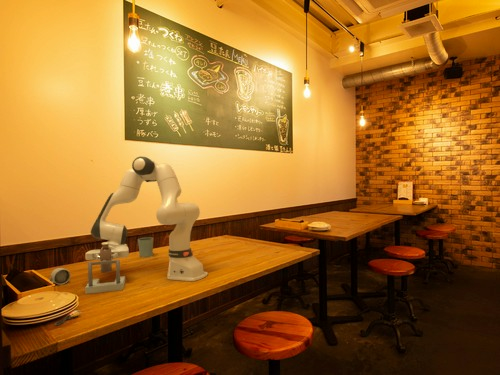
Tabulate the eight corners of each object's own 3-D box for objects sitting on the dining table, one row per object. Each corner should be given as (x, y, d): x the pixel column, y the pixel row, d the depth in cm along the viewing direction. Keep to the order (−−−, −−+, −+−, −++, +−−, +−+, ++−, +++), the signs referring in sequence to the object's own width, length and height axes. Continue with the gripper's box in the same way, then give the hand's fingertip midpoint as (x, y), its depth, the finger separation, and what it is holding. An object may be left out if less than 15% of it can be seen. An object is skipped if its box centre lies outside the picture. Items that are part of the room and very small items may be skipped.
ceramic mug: (65, 279, 166) (65, 265, 166) (71, 282, 161) (70, 267, 161) (42, 284, 159) (41, 269, 158) (47, 288, 153) (46, 273, 153)
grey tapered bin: (148, 258, 208) (148, 240, 208) (135, 257, 210) (134, 239, 210) (156, 254, 218) (155, 237, 218) (143, 254, 220) (142, 237, 220)
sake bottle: (114, 270, 155) (113, 242, 154) (105, 273, 151) (104, 244, 150) (107, 269, 157) (106, 241, 157) (98, 271, 153) (97, 243, 152)
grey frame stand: (90, 285, 156) (89, 257, 155) (125, 281, 160) (124, 254, 160) (85, 293, 144) (84, 263, 144) (122, 289, 149) (121, 260, 148)
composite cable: (57, 327, 112) (57, 320, 112) (49, 324, 114) (49, 318, 114) (82, 316, 121) (82, 310, 121) (74, 314, 123) (74, 307, 123)
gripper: (88, 246, 163) (81, 252, 150) (129, 243, 169) (127, 249, 156) (88, 258, 163) (82, 265, 150) (130, 255, 169) (127, 262, 156)
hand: (105, 257), depth 153 cm, fingers closed on sake bottle, 5 cm apart
